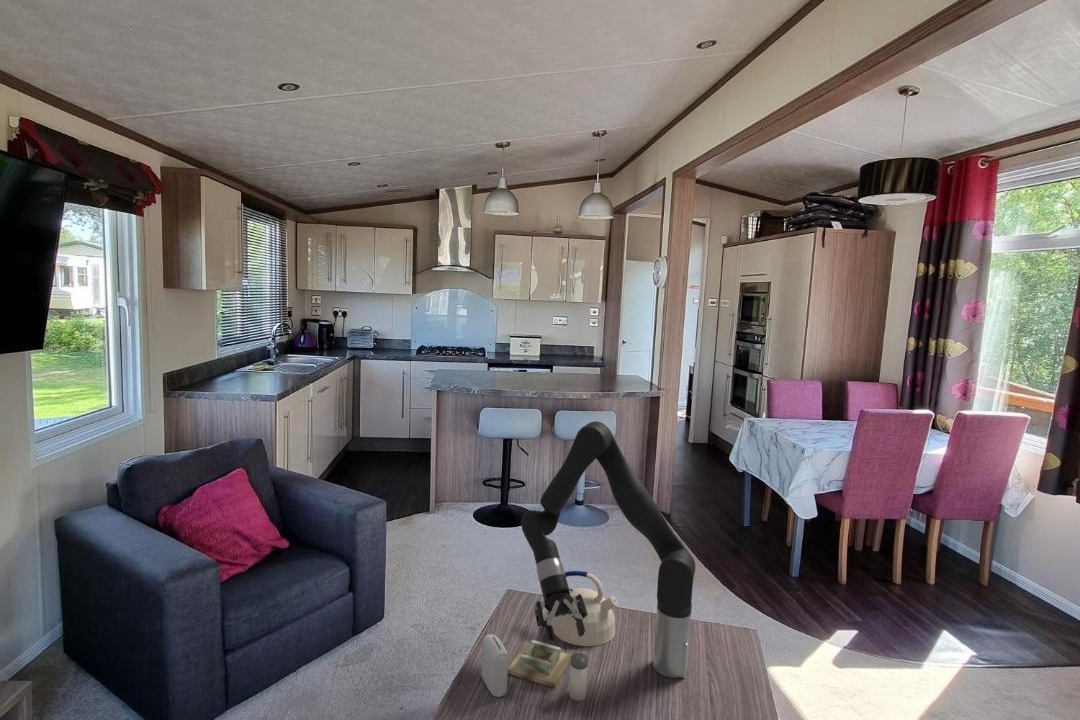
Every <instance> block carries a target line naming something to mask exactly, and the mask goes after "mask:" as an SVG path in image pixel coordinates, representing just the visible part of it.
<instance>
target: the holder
mask: <svg viewBox="0 0 1080 720" xmlns="http://www.w3.org/2000/svg"><path fill="white" fill-rule="evenodd" d="M572 655H573V654H570V653H567V652H562V648H561V647H559V646H557V645H552V644H549V643H546V642H542V641H538V640H536V639H535V640H534V639H532V640H531V641H530V642H525V644H524V645H523V647H522V648H521V650H520V651H519V653H518V654H517V655H516V656H515V658H514V659H513V660H512V661H511V663H510V664H509V665H508V674H507V675H513V676H516V677H518V678H521V679H525V680H529V681H532V682H536V683H537V684H540V685H541V684H542V685H545V686H548V687H551V688H554V689H555V688H557V686H558V684H559V682H560V680H561V679H562V677H563V675H564V674H565V672H566V670H567V669H568V666H569V665H570V664H571V656H572Z"/></svg>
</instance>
